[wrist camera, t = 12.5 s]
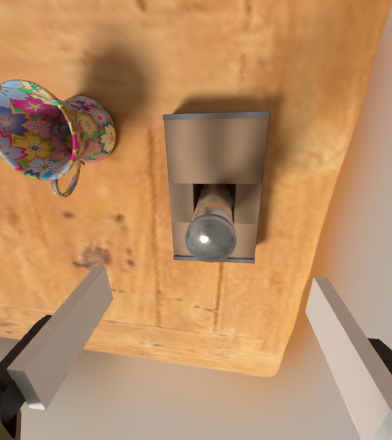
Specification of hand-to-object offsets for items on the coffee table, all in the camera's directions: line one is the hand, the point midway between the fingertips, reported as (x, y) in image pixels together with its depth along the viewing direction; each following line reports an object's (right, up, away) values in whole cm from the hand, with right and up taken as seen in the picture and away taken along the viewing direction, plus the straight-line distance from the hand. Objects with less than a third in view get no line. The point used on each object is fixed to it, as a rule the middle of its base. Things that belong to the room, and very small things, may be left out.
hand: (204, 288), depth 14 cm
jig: (+2, +9, +19) cm, 21 cm away
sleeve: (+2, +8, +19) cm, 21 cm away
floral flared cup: (-16, +16, +18) cm, 29 cm away
